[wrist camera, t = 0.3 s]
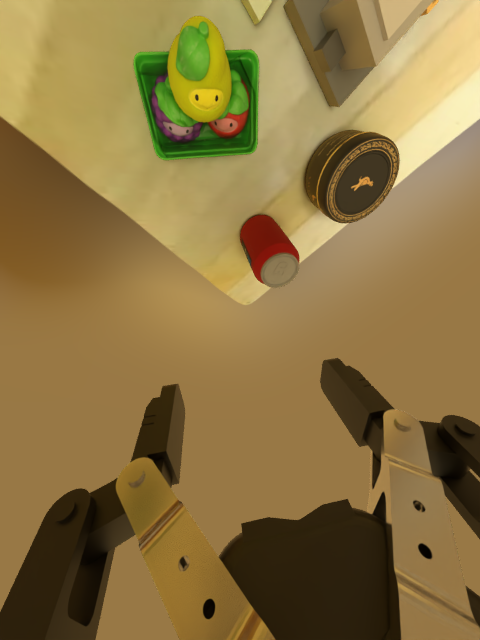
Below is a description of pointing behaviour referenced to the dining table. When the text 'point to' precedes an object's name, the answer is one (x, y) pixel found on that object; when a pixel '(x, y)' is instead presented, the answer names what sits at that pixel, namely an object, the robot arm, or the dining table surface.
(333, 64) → the gray stepped base block
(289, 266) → the beverage can
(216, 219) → the dining table surface
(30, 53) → the dining table surface
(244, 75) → the fruit basket
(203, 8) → the dining table surface
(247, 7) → the parts tray
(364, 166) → the jar
